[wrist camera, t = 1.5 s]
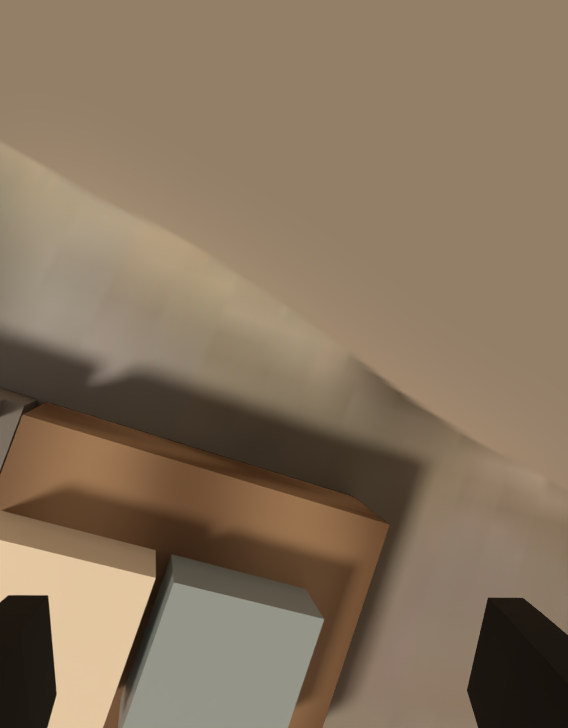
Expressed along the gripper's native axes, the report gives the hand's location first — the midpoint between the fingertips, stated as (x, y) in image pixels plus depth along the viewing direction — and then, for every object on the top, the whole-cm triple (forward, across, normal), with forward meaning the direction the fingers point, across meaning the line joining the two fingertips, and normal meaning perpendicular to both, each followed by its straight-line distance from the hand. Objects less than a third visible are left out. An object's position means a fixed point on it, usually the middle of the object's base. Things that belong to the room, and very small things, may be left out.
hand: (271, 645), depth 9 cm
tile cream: (+6, +6, +5) cm, 10 cm away
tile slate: (+6, +1, +6) cm, 9 cm away
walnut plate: (+10, +3, +7) cm, 12 cm away
